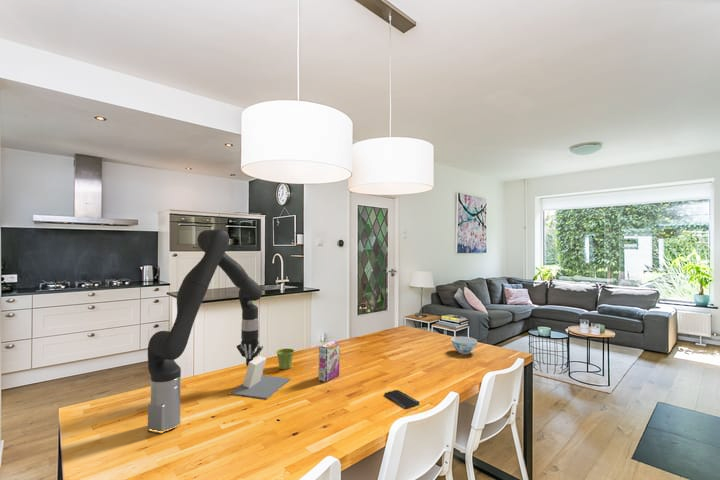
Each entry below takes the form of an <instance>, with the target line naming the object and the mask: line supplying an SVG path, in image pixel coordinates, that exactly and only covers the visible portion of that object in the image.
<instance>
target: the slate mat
mask: <svg viewBox="0 0 720 480" xmlns="http://www.w3.org/2000/svg"><path fill="white" fill-rule="evenodd" d="M290 379H292V378H290V377H282V376H272V375H264V374H262V377H261V380H260V381H259V382H258V383H256V384H255V385H253V386H252V387H250V388H248V387H245V386H243V383H242V384H240V385H239V386H238V387H236V388H234V389H233V390H231V391H230V392H229V393H231V394H237V395H236V396H238V395H244V396H243V397H246V396H249V397H248V398H253V397H255V399H260V398H261V399H262V400H268V399H269V398H270V397H271V396H273V395H274V394H275V393H277V392H278V391H279V390H280V389H281V388H283V387H284V386H285V385H286V384H287V383H288V382H290V381H291V380H290ZM289 380H290V381H289ZM284 384H285V385H284ZM283 385H284V386H283ZM279 388H280V389H279ZM278 389H279V390H278ZM273 393H274V394H273ZM231 394H230V395H231ZM272 394H273V395H272Z"/></svg>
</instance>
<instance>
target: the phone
mask: <svg viewBox="0 0 720 480" xmlns="http://www.w3.org/2000/svg"><path fill="white" fill-rule="evenodd" d="M383 396H384V397H385V398H387V399H388V400H390V401H391V402H393V403H395V404H397V405H398V406H400V407H402V408H403V409H405V410H406V409H407V410H408V409H411V408H414V407H416V406H417V407H418V406H419V405H420V401H419V400H416V399H415V398H413V396H409V395H408V394H406V393H404V392H402V391H401V390H398V389H395V390H390V391H388V392H385V393H384V394H383Z"/></svg>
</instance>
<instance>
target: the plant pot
mask: <svg viewBox="0 0 720 480" xmlns="http://www.w3.org/2000/svg"><path fill="white" fill-rule="evenodd" d="M295 351H296V350H294V348H280V349H277V350H276V351H275V353H276V355H277V359H278V368H279V369H280V370H284V369H285V370H289V369H291V368H292V363H293V357H294V353H295Z"/></svg>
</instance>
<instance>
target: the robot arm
mask: <svg viewBox="0 0 720 480" xmlns="http://www.w3.org/2000/svg"><path fill="white" fill-rule="evenodd" d="M196 241H197V244H198V247H199V249H200V250H201V251H203V253H204V255H203V256H202V258H201V259H200V260H199V262H197V263H196V265H194V267H193V268H192V269H190V271H189V272H188V273H187V274H186V275H185V277H183V280H182V282H181V284H180V286H179V289H178V291H177V295H176V318H175V319H174V323H173V325H172V327H171V330H170V331H169V330H159V331H157V332H154V334H153V335H151V337H150V339H149V341H148V344H147V366H148V367H147V368H148V373H149V375H150V402H149V403H148V404H147V430H148V429H152V430H157V431H164V430H167V429H170V428H173V427H175V426H177V425H178V424H179V423H180V424H181V388H182V387H181V380H182V379H181V378H182V377H181V376H182V375H181V374H182V369H181V367H180V365H178V363H177V362H176V361H175V360H176V359H179V358H180V357H181V356H182V354H183V353H184V351H185V350H186V347H187V344H188V343H189V340H190V339H189V338H190V335H191V332H192V328H193V325H194V323H195V320H196V319H197V315H198V313H199V310H200V307H201V305H202V303H203V301H204V299H205V295H206V293H207V291H208V289H209V286H210V284H211V282H212V279H213V276H214V275H215V273H216V270H217V268H218V267H219V268H220V269H221V270H222V271H223V272H224V273H225V274H226V276H227V277H228V279H229V280H230V281H231V283H233V285H234V286H235V287H237V288H238V289H239V290H238V298H239V303H240V307H241V329H240V330H241V335H240V337H241V339H240V340H241V341H240V344H237V345H236V349H237V350H238V352H239V353H240V355H241V357H243V358H245V364H246V368H248V364H249V362H250V361H252V360H254V359H255V358H257V357H258V355H260V353H261V352H262V350H263V349H264V346H263V345H260V341H259V330H260V327H259V326H260V325H259V307H258V306H257V305H256V304H254V303H253V302H256V301H259V300H260V299H261V298H262V295H263V290H262V288H261V286H260V285H259V284H258V282H256V281H255V280H254V279H252V278H251V277H250V276H249V274H248V273H247V271H246V270H245V269H244V267H243V266H242V265H241V264H240V263H239V262H237V261H236V260H234V259H233V258H232V257H231V256H230V255H228V254H227V253H226V251H227V249H228V248H229V244H230V236H229V233H228V232H227V231H226V230H224V229H204V230H202V231H201V232H199V234H198V236H197V240H196Z"/></svg>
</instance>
